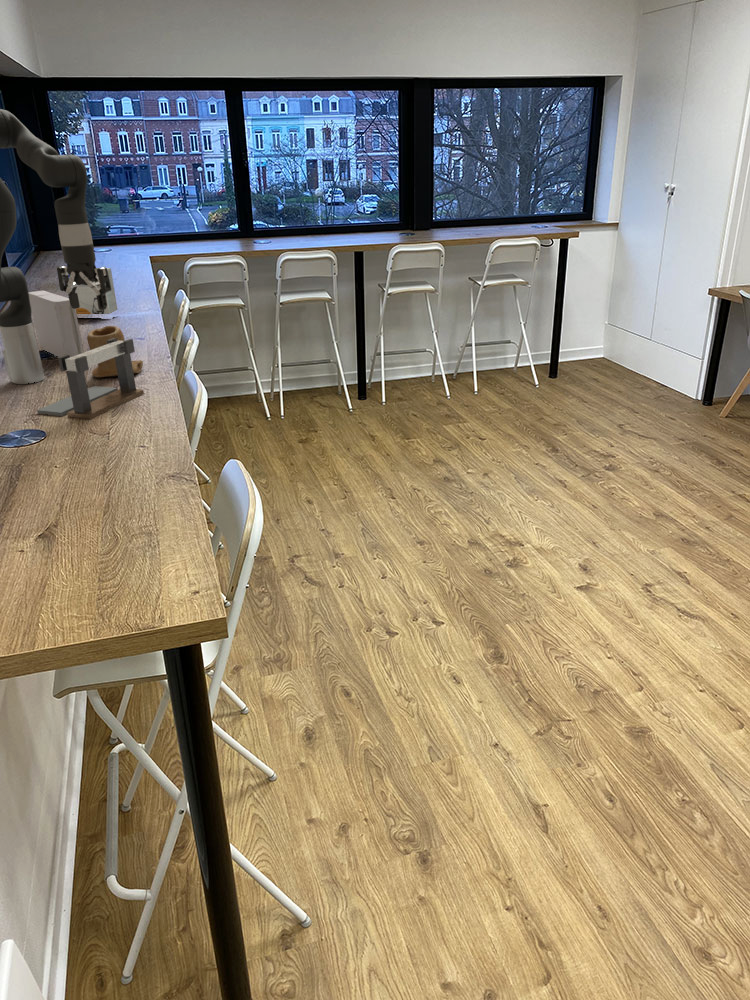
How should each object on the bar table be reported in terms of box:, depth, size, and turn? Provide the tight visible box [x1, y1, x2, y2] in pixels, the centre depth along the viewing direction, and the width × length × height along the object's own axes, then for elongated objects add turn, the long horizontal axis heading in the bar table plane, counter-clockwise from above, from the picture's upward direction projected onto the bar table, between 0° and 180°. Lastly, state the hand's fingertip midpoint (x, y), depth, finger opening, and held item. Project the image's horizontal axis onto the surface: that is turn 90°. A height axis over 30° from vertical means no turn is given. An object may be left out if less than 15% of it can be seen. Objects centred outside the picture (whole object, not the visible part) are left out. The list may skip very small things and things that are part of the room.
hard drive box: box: [68, 267, 119, 315], centre depth 312 cm, size 16×8×20 cm, turn 81°
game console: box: [28, 290, 85, 358], centre depth 254 cm, size 6×27×20 cm, turn 41°
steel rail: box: [65, 341, 125, 372], centre depth 199 cm, size 3×21×3 cm, turn 160°
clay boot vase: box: [86, 325, 144, 378], centre depth 229 cm, size 15×12×15 cm
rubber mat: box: [36, 385, 118, 417], centre depth 207 cm, size 8×23×1 cm, turn 160°
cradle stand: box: [57, 338, 145, 420], centre depth 201 cm, size 7×23×16 cm, turn 160°
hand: (89, 308), depth 194 cm, fingers open, 8 cm apart
